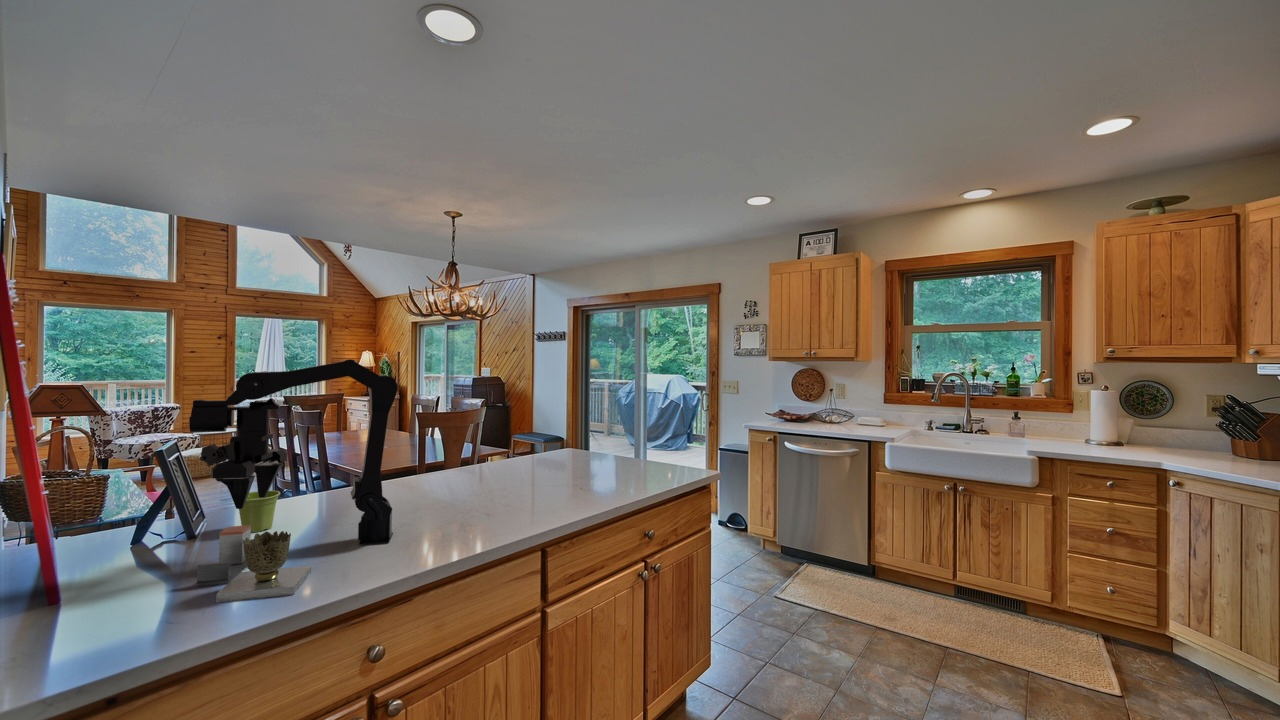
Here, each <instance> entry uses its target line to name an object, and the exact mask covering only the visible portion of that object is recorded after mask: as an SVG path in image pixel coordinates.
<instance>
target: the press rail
mask: <svg viewBox="0 0 1280 720" xmlns="http://www.w3.org/2000/svg"><path fill="white" fill-rule="evenodd" d="M196 566H197V567H196V571H197V572H196V574H197V575H196V587H204V586H205V587H206V586H216V585H227V584H228V583H229V582H230V581H231V580H233V579H234V578H235V577H236V576H237V575H238V574H239V573H240V572H244V570H245V569H246V568H248V567H247V565H246V561H244V562H243V563H239V564H231V561H223V562H219V561H214V562H212V561H211V562H200V563H198V564H197V565H196Z"/></svg>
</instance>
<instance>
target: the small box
mask: <svg viewBox="0 0 1280 720" xmlns="http://www.w3.org/2000/svg"><path fill="white" fill-rule="evenodd" d="M251 534H252V533H251V525H247V526H242V525H235V526H234V525H233V526H227V527H226V528H224V529H223V530H221V531H220V532H219V535H218V536H219V538H218V539H219V543H218V544H219V545H218V562H223V561H231V564H239V563H243V562H244V561H245V554H244V546H243V540H246V538H249V540H251V539H252V538H251Z"/></svg>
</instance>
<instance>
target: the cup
mask: <svg viewBox="0 0 1280 720" xmlns="http://www.w3.org/2000/svg"><path fill="white" fill-rule="evenodd" d="M291 536H292V533H291V532H289V534H288V532H287V531H284V530H282V531H280V533H279V534H278V531H277V530H276V531H274V532H273V533H271V532H269V531H265V532H263V533H261V534H259V533H255V534H254V537H253V539H252V538H251V540H249V538H246V540H243V546H244V554H245V561H246V565H247V567H246V568H247V569H248V571H251V572H253V573H256V574H255V579H256V580H257V581H269V580H272V579H274V578H276V577H277V575H278V573H279V572H278V570H277V569H281V568H282V567H283V566H284V565H285V563H286V562H287V559H288V554H289V551H290V546H291V545H290V544H291V543H290V542H291Z"/></svg>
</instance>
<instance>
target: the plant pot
mask: <svg viewBox="0 0 1280 720" xmlns="http://www.w3.org/2000/svg"><path fill="white" fill-rule="evenodd" d="M280 495H281V492H280V491H278V490H268V492H267V494H266V496H265V497H262V498H260V497H259V495H258V490H257V491H252V492H250V491H249V494H248V497H247V499H246V502H245V504H244V507H243V508H242V509H238V511H239V518H240V523H241V525H240V526H247V525H251V534H253V533H259V532H263V531H264V530H270V529H271V528H272V527H273V523H274V517H275V510H276V505H277V501H278V499H279V496H280Z"/></svg>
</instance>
